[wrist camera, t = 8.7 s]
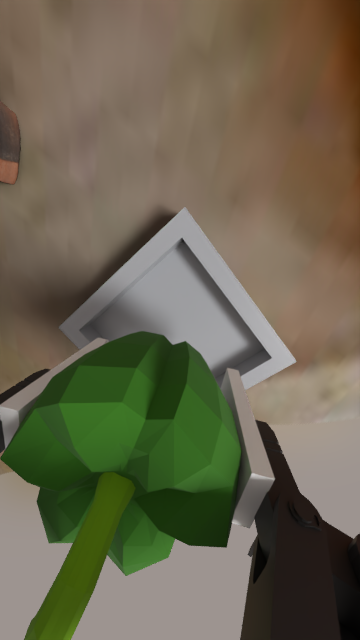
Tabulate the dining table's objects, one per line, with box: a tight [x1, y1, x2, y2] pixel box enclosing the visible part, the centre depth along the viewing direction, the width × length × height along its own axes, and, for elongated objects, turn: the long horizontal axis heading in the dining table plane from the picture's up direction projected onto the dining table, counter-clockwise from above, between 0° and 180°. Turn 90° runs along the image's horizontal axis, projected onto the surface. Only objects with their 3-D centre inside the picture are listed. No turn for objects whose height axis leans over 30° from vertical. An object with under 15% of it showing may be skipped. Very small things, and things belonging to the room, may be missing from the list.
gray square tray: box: [58, 207, 297, 390], centre depth 19 cm, size 16×16×3 cm
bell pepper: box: [0, 331, 241, 640], centre depth 8 cm, size 8×8×10 cm
